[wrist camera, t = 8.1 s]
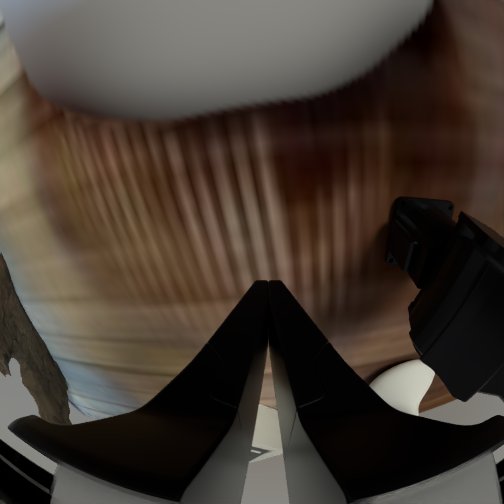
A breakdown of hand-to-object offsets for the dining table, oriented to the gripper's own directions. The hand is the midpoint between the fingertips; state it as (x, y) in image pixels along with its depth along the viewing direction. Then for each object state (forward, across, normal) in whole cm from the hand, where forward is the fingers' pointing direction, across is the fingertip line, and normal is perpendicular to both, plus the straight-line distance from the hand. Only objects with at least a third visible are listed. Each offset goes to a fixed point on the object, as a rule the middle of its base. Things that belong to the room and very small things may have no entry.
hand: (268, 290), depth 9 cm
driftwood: (+14, +40, +20) cm, 47 cm away
